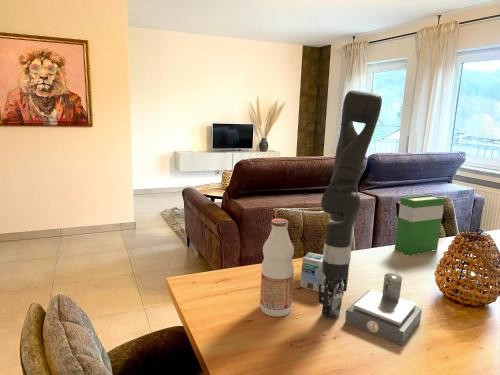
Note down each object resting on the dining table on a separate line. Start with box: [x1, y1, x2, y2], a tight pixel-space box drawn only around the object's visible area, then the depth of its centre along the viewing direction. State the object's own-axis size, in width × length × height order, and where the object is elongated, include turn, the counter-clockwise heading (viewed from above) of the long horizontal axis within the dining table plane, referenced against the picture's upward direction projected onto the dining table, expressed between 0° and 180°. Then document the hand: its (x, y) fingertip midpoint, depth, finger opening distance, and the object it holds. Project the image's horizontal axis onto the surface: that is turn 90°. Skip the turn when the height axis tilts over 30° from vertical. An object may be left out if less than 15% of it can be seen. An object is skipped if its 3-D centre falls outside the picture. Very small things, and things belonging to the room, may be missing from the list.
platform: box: [353, 288, 417, 326], centre depth 108 cm, size 13×13×1 cm
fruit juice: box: [259, 218, 295, 318], centre depth 110 cm, size 9×9×28 cm
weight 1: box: [324, 291, 344, 320], centre depth 110 cm, size 5×5×7 cm
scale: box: [344, 290, 423, 346], centre depth 108 cm, size 16×16×4 cm
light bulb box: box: [300, 251, 326, 293], centre depth 128 cm, size 11×7×11 cm, turn 62°
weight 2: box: [382, 272, 403, 303], centre depth 110 cm, size 5×5×7 cm
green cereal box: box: [394, 194, 446, 256], centre depth 164 cm, size 18×7×24 cm, turn 114°
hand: (331, 310), depth 111 cm, fingers open, 6 cm apart
